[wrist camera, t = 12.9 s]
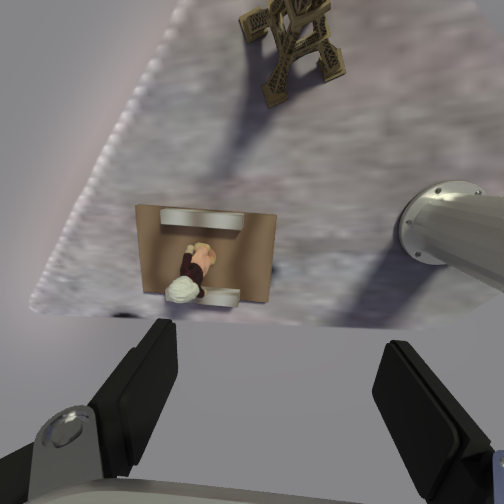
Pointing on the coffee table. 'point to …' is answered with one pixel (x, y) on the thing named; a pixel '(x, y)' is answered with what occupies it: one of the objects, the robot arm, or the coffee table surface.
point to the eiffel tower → (293, 40)
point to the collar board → (222, 250)
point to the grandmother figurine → (191, 274)
